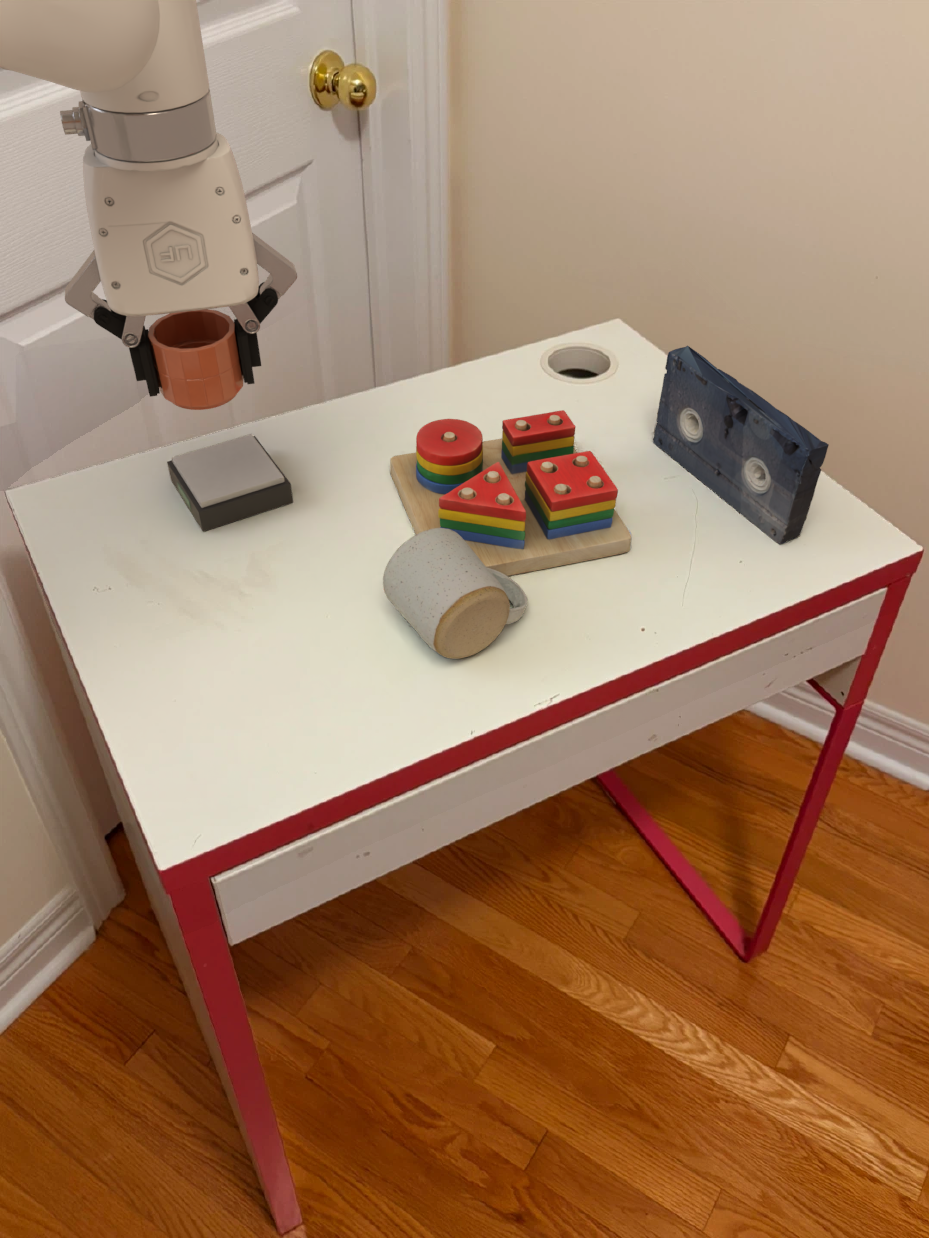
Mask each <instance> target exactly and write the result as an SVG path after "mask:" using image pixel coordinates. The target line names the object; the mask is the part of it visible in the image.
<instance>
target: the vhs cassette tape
mask: <svg viewBox="0 0 929 1238" xmlns="http://www.w3.org/2000/svg"><path fill="white" fill-rule="evenodd" d="M664 369H665V370H666V372H665V373H664V376H663V380H662V387H661V392H660V397H659V403H658V409H657V413H656V414H657V415H656V424H655V427H654V432H653V438H652V442H653V444H654V445H655V446H656V447H657V448H658V449H660V450H661V451H663V452H664V453H665V454H666V455H668V456H669V458H671V459H672V460H674V462H676V463H677V464H678V465H680V466H681V467H682V468H684V470H686V471H687V472H688V473H690V474H691V475H692V476H693V477H694V478H696V479H697V480H698V481H699V482H701V483H702V484H703V485H704V486H706V487H707V488H708V489H710V490H711V491H712V492H713V493H715V494H716V495H717V496H718V498H721V500H723V501H724V502H725V503H726V504H727V505H729V506H730V507H732V508H733V509H734V510H735V511H737V512H738V513H739V514H740V515H741V516H743V518H745V519H746V520H748V521H749V522H750V523H751V524H753V525H754V526H755V527H757V528H758V529H759V531H761V532H762V533H764V534H765V535H766V536H767V537H769V538H770V539H771V540H772V541H774V542H775V543H776V544H779V545H780V544H782V545H783V544H785V543H787V542H789V541H791V540H794V539H797V538H798V537H800V536H801V533H802V531H803V528H804V525H805V522H806V520H807V517H808V514H809V512H810V508H811V504H812V502H813V499H814V495H815V491H816V488H817V484H818V481H819V478H820V475H821V472H822V468H821V467H822V466H823V464H824V463H825V459H826V456H827V454H828V453H827V452H828V449H829V446H830V445H829V443H827V442H825V441H823V440H821V439H820V438H819V437H818V436H816V435H815V434H814V433H812V432H810V431H809V430H808V429H807V428H805V427H804V426H803V425H801V424H799V423H798V422H797V421H795V420H794V419H792V418H791V417H790V416H789V415H787V414H786V413H785V412H783V411H781V410H780V409H778V408H777V407H775V406H774V405H773V404H771V403H770V402H769V401H767V400H766V399H765V398H763V397H762V396H761V395H759V394H758V393H757V392H755V391H753V390H752V389H750V388H749V387H747V386H745V385H744V384H743V383H741V382H739V381H738V379H736V378H735V377H734V376H732V375H730V374H729V373H727V372H725V371H723V370H722V369H720V368H717V367H716V366H715V365H714V364H713V363H712V362H710V360H708V359H707V358H706V357H704V356H703V355H701V354H700V353H699V352H697V351H696V350H695V349H693V348H692V347H690V345H685V346H683V347H679V348H678V347H677V348H675V349H672V350H670V351H669V352H668V353H667V357H666V363H665V367H664Z"/></svg>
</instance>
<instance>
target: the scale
mask: <svg viewBox="0 0 929 1238" xmlns="http://www.w3.org/2000/svg"><path fill="white" fill-rule="evenodd" d="M166 465H167V468H168V469H167V470H168V473H169V477H170V481H171V483H172V484H173V486H174V487H175V489H176V491H177V492H178V494H179V496H180V498H181V499H182V500H183V502H184V504H185V506H186V507H187V508H188V510H189V512H190V513H191V515H192V517H193V518H194V520H195V521H196V523H197V525H198V526H199V528H200V529H201V532H203V533H204V532H207V531H210V530H214V529H216V528H219V527H222V526H225V525H228V524H231V523H235V522H238V521H241V520H244V519H247V518H250V517H254V516H256V515H259V514H263V513H265V512H268V511H271V510H274V509H278V508H281V507H285V506H287V505H290V504H293V503H294V499H293V492H292V491H293V489H292V483H291V482H290V481H289V479H288V478H287V476H286V475H285V473H283V470H281V469H280V467H279V466H278V464H277V463H276V462H275V460H274V459H273V457H272V456H271V455H270V454H269V453H268V452H267V450H266V449H265V447H264V446H263V445H262V443H261V442H260V441H259V439H258V438H257V437H256V435H254V434H252V433H249V434H246V435H241V436H239V437H234V438H232V439H228V440H225V441H222V442H219V443H214V444H212V445H208V446H205V447H204V446H203V447H201V448H198V449H195V450H191V451H188V452H184V453H181V454H178V455H175V456H171V460H168V461H166Z"/></svg>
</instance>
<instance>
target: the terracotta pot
mask: <svg viewBox="0 0 929 1238" xmlns="http://www.w3.org/2000/svg"><path fill="white" fill-rule="evenodd" d="M148 331H149V332H148V340H149V343H150V348H151V352H152V357H153V361H154V366H155V370H156V375H157V379H158V384H159V390H160V394H161V395H162V397H163V399H165V401H168V402H170V403H172V404H173V405H174V406H177V407H178V408H181V409H185V410H191V411H204V410H205V411H206V410H211V409H216V408H218V407H221V406H225V405H226V404H227V403H229V402H231V401H232V400H233V399H235V398H236V396H237V395H238V394H239V392H240V391H241V390H242V388H243V387H244V377H243V372H242V365H241V359H240V353H239V347H238V340H237V334H236V326H235V323H234V319H232V317H231V316H230V315H228V314H226V313H223V312H222V311H219V310H216V309H204V310H195V311H187V312H177V313H168V314H164V315H163V316H161V317H159V318H157V319H156V320H155V321H154V322H153V323H152V324H151V325H150V326H149V328H148Z"/></svg>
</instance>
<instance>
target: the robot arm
mask: <svg viewBox="0 0 929 1238" xmlns="http://www.w3.org/2000/svg"><path fill="white" fill-rule="evenodd" d="M0 69H2V70H5V71H11V72H15V73H19V74H22V75H26V76H29V77H33V78H36V79H39V80H43V81H47V82H50V83H53V84H55V85H59V86H62V87H66V88H68V89H72V90H75V91H79V92H80V97H81V100H79V101H78V106H73V107H72V108H71V109H68V110H60V111H59V114H60V121H61V125H62V129H63V132H64V135H77V136H78V137H84V138H85V141H86V142H90V144H89V145H88V146H87V147H86V148H85V150H84V154H83V157H82V176H83V188H84V198H85V205H86V211H87V217H88V223H89V228H90V234H91V239H92V245H93V250H92V252H91V253H90V254H89V256H88V257H86V259H85V261H84V262H83V264H82V265H81V266H80V268H79V269H78V270H77V272H76V273H75V274H74V276H73V277H72V278H71V279H70V281H69V282H68V284H67V285H66V287H65V288H64V301H65V303H66V304H67V305H68V306H69V307H71V308H73V309H75V310H76V311H78V312H79V313H81V314H82V315H84V316H85V317H87V318H90V319H92V320H93V321H94V323H95V324H96V325H97V326H99V327H101V328H102V329H104V330H105V331H107V332H109V334H112V335H114V336H115V337H117V338H119V339H120V340H121V343H122V344H123V346H125V347H127V348H128V350H129V354H130V359H131V362H132V367H133V371H134V375H135V380H136V382H142V381H146V386H147V391H148V395H149V397H157V396H158V395H159V394H161V392H160V388H159V384H158V379H157V375H156V370H155V366H154V361H153V357H152V352H151V348H150V343H149V340H148V332H149V328H146V325H145V321H146V317H149V316H157V315H167V314H169V313H177V312H187V311H195V310H204V309H209V310H214V309H221V308H229V309H230V311H231V312H232V313H233V315H234V317H235V318H234V319H233V321H234V323H235V326H236V334H237V340H238V347H239V353H240V359H241V365H242V372H243V377H244V380H243V384H247V385H254V384H255V377H254V371H253V368H256V367H262V360H261V353H260V352H261V351H260V346H259V345H260V344H259V339H258V332H259V331H260V329H261V324H262V323H263V322H264V320H265V319H267V317H268V315H269V314H270V313H271V312H272V311H273V310H274V309H275V308H276V306H277V305H278V302H279V300H280V298H281V297H283V296H284V295H285V294H286V292H287V291H288V290H289V289H290V288H291V286H292V285H293V284H294V283H295V282H296V280H297V279H298V272H297V269H296V266H295V264H294V263H293V262H292V261H290V260H289V259H288V258H287V257H285V256H284V255H283V254H281V253H280V252H279V251H277V250H276V249H275V248H274V247H272V246H271V245H269V244H268V243H267V242H265V241H264V240H263V239H262V238H260V237H259V236H258V235H256V234H255V233H254V232H253V230H252V224H251V219H250V214H249V210H248V204H247V199H246V195H245V191H244V186H243V182H242V179H241V175H240V172H239V168H238V165H237V162H236V159H235V155H234V153H233V151H232V147H231V145H230V143H229V141H228V139H227V138H226V137H225V135H223V134H222V133H219V132H217V130H216V122H215V114H214V108H213V102H212V95H211V89H210V83H209V81H210V80H209V75H208V69H207V62H206V55H205V50H204V43H203V36H202V31H201V23H200V17H199V9H198V3H197V0H0ZM258 267H261V268H262V269H264V270H265V272H267V273H268V274H269V275H268V276H267V277H266V280H265V281H263V282H261V283H260V280H259V279H260V278H259V277H260V276H259V268H258ZM100 283H101V286H102V290H103V294H104V297H105V298H101V297H99V295H97V293H95V292H94V291H95V289H96V288H97V287H98V286H99V284H100ZM259 283H260V284H259Z"/></svg>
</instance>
